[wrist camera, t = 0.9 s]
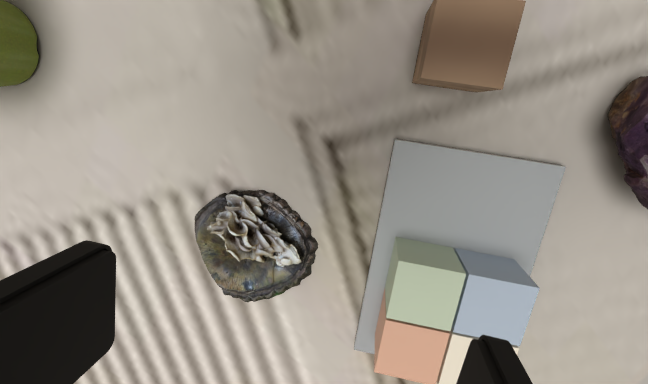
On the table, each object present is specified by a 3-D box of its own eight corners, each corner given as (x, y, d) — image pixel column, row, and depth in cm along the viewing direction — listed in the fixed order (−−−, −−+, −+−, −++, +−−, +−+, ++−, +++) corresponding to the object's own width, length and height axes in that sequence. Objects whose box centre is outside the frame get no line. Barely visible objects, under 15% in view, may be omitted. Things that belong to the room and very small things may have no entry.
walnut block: (425, 15, 27) (438, -10, 21) (493, 23, 26) (525, 0, 21) (412, 83, 28) (420, 77, 23) (476, 92, 28) (502, 89, 22)
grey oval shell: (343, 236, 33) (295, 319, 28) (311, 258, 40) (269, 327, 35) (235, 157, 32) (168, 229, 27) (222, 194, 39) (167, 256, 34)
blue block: (455, 248, 30) (469, 274, 25) (514, 259, 29) (539, 288, 25) (441, 298, 31) (453, 331, 27) (498, 309, 31) (519, 346, 26)
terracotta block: (384, 288, 32) (385, 320, 27) (439, 299, 31) (449, 333, 27) (374, 334, 33) (374, 371, 28) (427, 345, 32) (435, 386, 28)
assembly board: (394, 138, 29) (395, 139, 28) (559, 164, 28) (565, 166, 27) (354, 342, 35) (354, 349, 34) (491, 373, 33) (495, 381, 32)
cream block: (441, 300, 31) (452, 334, 27) (497, 311, 31) (519, 348, 26) (429, 346, 32) (437, 386, 28) (483, 358, 32) (501, 401, 27)
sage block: (395, 236, 30) (398, 260, 26) (452, 247, 30) (466, 273, 25) (384, 286, 32) (386, 317, 27) (439, 297, 31) (450, 331, 27)
